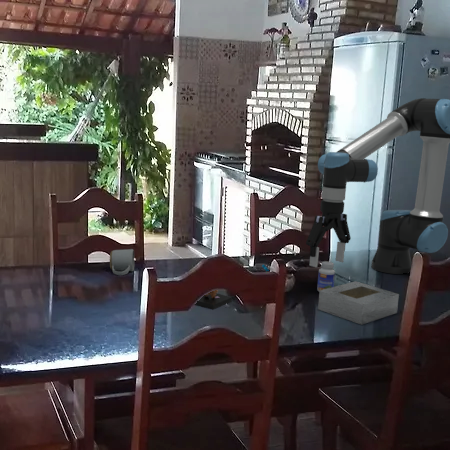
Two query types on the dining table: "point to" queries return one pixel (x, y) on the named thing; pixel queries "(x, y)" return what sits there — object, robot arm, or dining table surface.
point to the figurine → (213, 300)
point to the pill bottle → (326, 276)
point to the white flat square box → (358, 302)
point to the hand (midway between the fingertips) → (326, 263)
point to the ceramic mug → (122, 261)
